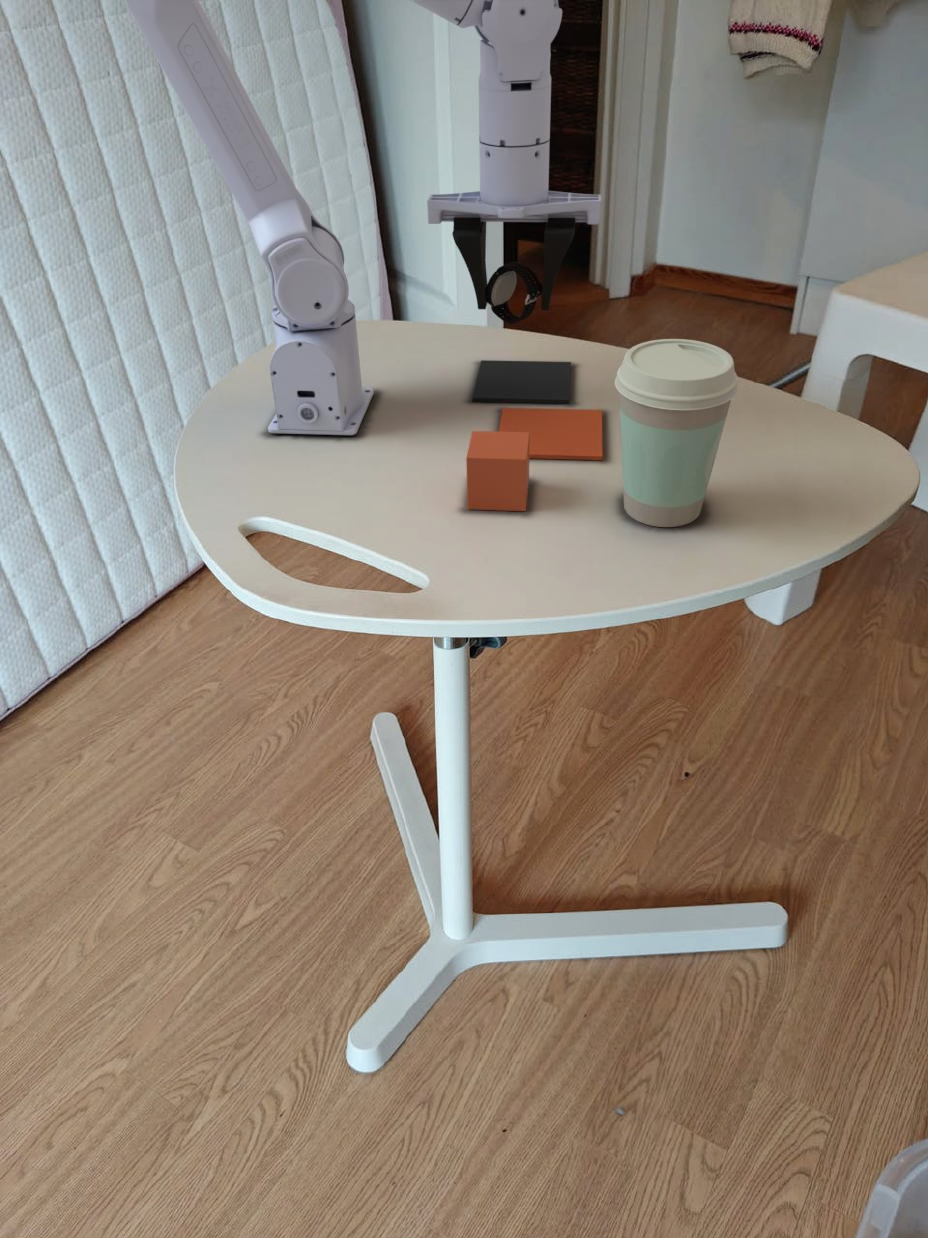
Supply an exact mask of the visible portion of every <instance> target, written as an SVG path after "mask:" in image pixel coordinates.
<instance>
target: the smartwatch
mask: <svg viewBox="0 0 928 1238" xmlns="http://www.w3.org/2000/svg"><path fill="white" fill-rule="evenodd" d="M517 276H519V277H520V278H521V279H522V280H523V282H524V284H525V286H526V288H525V291H526V294H527V295H526V298H525V301H524V305H523V310H522V313H521V314H520V316H517V315H515V314H514V313H513V312H512V311H511V309H510V307H509V304H508V302H509V301H510V299H511V298H512V296H513V294H514V292H515V289H516V286H517V282H518V281H517V279H518V277H517ZM542 289H543V282H540V280H539V278H538V277H537V275H536V274H535V272H534V271H533V270H532V269H531V268H530V267H529V266H527V265H525V264H524V263H521V262H518V261H513V262H508V263H507V264H504V265H502V266H501V265H500V267H497V268H496V271H494V272H493V273H492V275H491V276H490V277H489V280H488V281H487V287H486V300H487V302H488V303H487V305H490V309H491V311H492V313H493V314H494V315H495V316H496V317H497V318H498V319H500V320H501V321H503V322H504V323H506V324H508V325H515V324H517V323H519V322H521V321H524V320H526V319H528V318H529V317H530V316H531V315H532V313H533V311H534V310H535V307H536V303H537V301H538V300H539V299H540V298H541V297H542Z"/></svg>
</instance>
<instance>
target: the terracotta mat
mask: <svg viewBox="0 0 928 1238" xmlns="http://www.w3.org/2000/svg"><path fill="white" fill-rule="evenodd" d="M498 432H529V433H530V447H529V459H537V460H538V459H541V460H542V459H543V460H572V461H573V460H576V461H577V460H578V461H579V460H580V461H603V457H604V455H603V453H604V451H603V449H604V447H603V409H578V408H577V409H574V408H571V409H570V408H569V409H568V408H534V407H533V408H531V407H530V408H529V407H528V408H527V407H523V408H522V407H502V410H501V416H500V422H499V428H498Z"/></svg>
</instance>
